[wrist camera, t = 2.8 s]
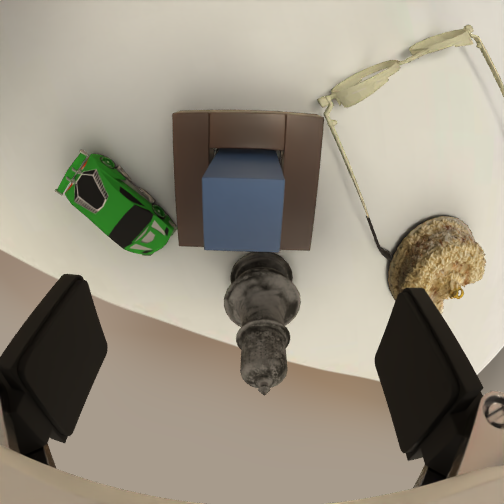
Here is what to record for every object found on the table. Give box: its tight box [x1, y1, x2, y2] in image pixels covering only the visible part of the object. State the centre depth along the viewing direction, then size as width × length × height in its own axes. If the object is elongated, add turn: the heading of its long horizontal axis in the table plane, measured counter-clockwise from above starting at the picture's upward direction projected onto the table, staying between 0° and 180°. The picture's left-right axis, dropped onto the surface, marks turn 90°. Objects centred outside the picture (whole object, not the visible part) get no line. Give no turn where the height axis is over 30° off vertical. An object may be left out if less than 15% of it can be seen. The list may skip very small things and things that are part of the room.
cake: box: [388, 216, 486, 314], centre depth 24 cm, size 10×10×5 cm
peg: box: [202, 148, 285, 252], centre depth 19 cm, size 4×4×8 cm
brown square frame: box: [172, 110, 324, 251], centre depth 22 cm, size 10×10×2 cm
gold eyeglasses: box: [317, 25, 504, 261], centre depth 19 cm, size 17×15×5 cm
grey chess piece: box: [224, 252, 301, 395], centre depth 22 cm, size 6×6×12 cm
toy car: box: [55, 150, 177, 256], centre depth 23 cm, size 10×5×2 cm, turn 43°
